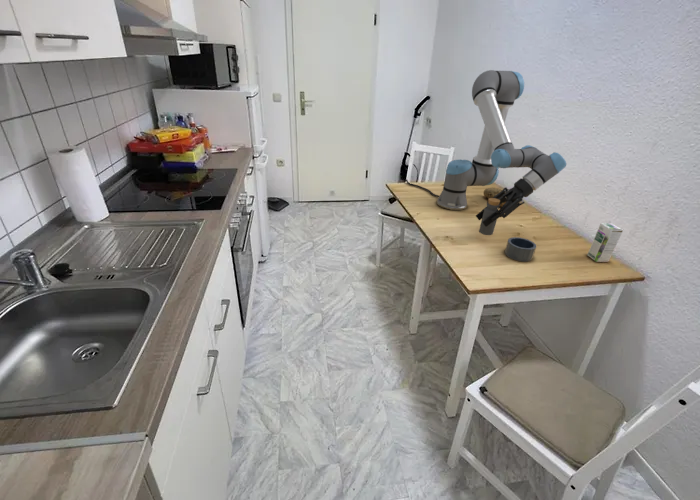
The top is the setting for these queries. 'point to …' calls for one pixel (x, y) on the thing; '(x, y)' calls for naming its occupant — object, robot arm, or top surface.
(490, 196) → the bread loaf
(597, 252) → the syrup box
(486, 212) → the bottle
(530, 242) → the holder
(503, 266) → the top surface
